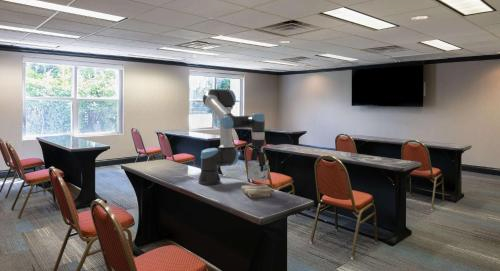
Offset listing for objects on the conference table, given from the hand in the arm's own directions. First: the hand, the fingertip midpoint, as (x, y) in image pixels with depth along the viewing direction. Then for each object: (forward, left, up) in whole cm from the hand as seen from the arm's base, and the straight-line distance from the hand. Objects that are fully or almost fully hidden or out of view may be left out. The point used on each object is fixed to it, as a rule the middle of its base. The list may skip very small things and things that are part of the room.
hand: (257, 174), depth 203 cm
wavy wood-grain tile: (0, 0, -12) cm, 12 cm away
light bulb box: (0, 0, -3) cm, 3 cm away
